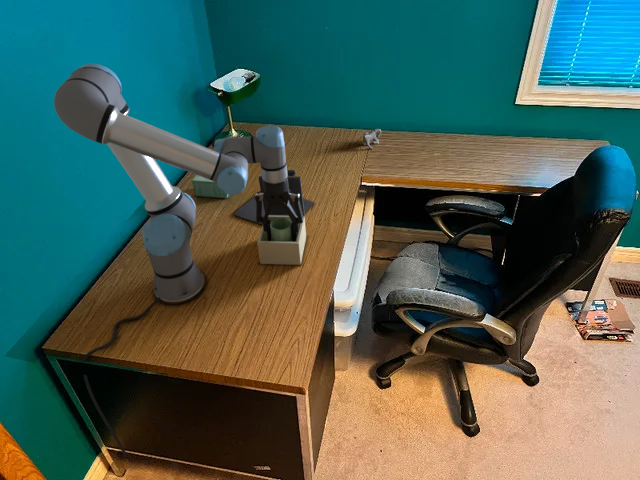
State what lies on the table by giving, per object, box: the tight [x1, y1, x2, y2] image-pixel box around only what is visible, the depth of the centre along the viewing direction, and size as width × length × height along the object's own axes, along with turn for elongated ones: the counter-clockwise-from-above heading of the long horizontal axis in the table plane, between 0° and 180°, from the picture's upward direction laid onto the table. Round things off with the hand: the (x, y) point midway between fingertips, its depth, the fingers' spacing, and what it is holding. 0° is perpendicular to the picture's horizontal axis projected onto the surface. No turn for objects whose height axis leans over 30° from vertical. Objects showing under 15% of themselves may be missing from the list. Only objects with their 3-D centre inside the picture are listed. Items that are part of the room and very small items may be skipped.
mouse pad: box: [234, 191, 313, 226], centre depth 180 cm, size 23×20×1 cm
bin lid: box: [258, 169, 306, 216], centre depth 157 cm, size 16×13×7 cm
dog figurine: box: [362, 128, 382, 150], centre depth 215 cm, size 12×6×7 cm, turn 138°
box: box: [191, 174, 230, 199], centre depth 189 cm, size 7×14×8 cm, turn 79°
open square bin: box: [256, 215, 307, 266], centre depth 158 cm, size 15×13×9 cm
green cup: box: [270, 218, 293, 242], centre depth 156 cm, size 7×7×8 cm
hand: (282, 238), depth 157 cm, fingers open, 7 cm apart
